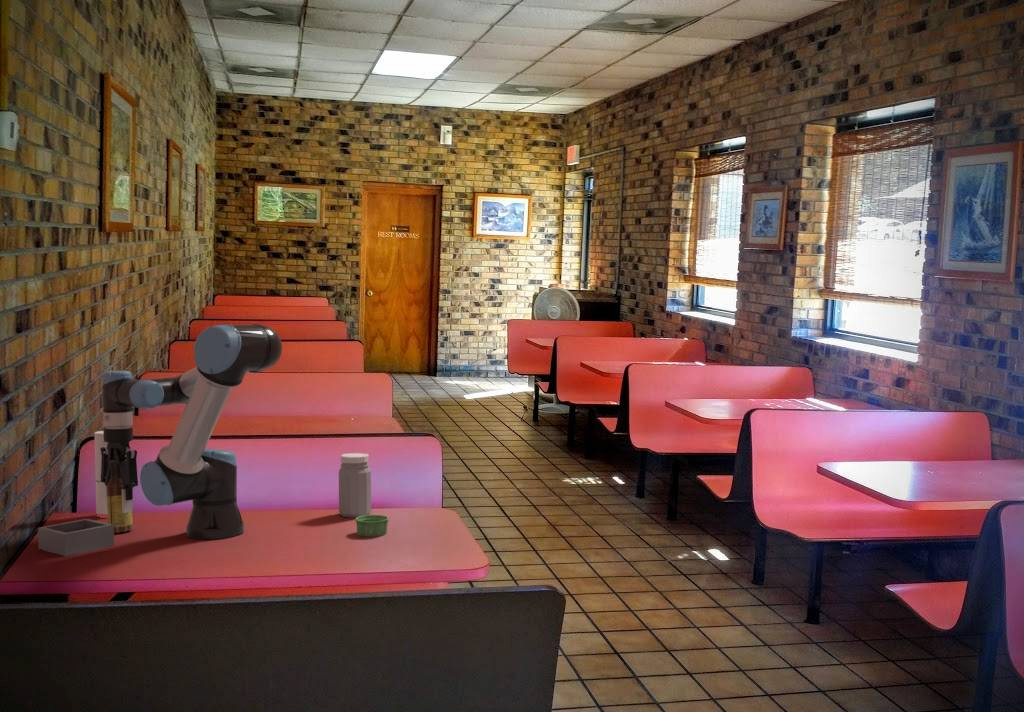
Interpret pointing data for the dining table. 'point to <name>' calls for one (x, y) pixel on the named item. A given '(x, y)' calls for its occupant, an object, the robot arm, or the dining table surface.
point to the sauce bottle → (117, 501)
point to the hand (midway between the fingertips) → (119, 510)
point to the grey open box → (75, 537)
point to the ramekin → (372, 525)
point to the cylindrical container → (100, 486)
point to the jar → (354, 485)
